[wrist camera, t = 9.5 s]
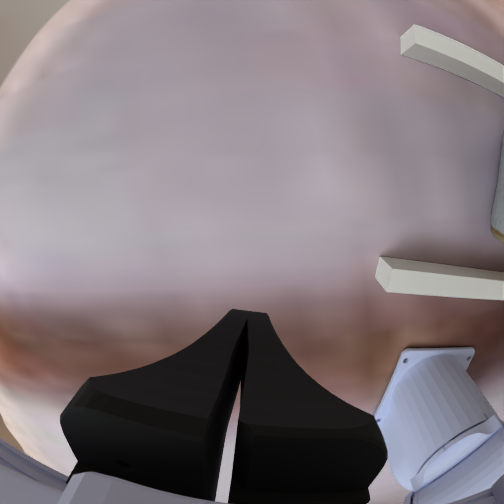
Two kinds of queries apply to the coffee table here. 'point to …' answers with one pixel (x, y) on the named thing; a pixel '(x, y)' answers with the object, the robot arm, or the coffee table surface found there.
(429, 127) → the coffee table surface
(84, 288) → the coffee table surface
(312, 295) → the coffee table surface
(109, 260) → the coffee table surface
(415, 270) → the track rails
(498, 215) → the ceramic mug
